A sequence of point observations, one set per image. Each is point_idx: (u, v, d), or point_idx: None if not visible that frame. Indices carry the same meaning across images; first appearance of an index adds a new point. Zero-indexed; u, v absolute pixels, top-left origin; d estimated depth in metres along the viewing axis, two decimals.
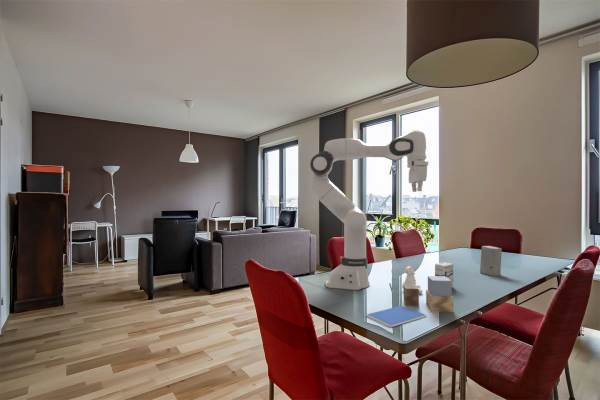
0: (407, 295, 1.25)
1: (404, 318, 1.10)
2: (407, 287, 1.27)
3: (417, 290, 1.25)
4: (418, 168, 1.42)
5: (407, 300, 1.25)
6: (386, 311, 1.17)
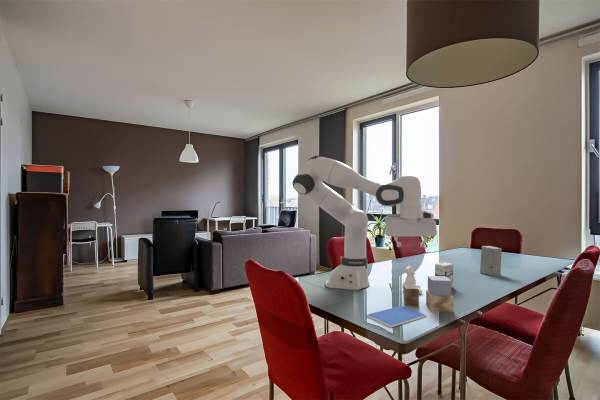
0: (407, 295, 1.25)
1: (404, 318, 1.10)
2: (407, 287, 1.27)
3: (417, 290, 1.25)
4: (435, 222, 1.25)
5: (407, 300, 1.25)
6: (386, 311, 1.17)
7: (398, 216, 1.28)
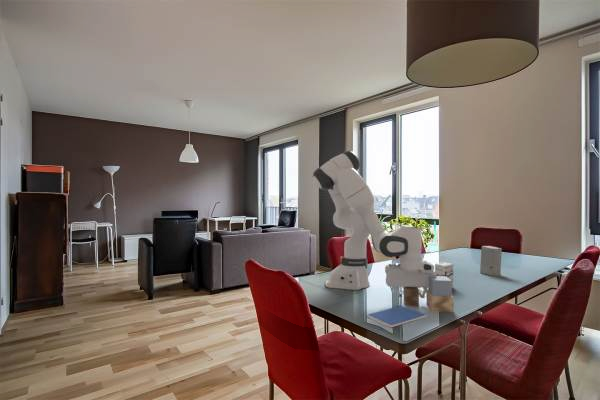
0: (407, 295, 1.25)
1: (404, 318, 1.10)
2: (407, 287, 1.27)
3: (417, 290, 1.25)
4: None
5: (407, 300, 1.25)
6: (386, 311, 1.17)
7: (399, 266, 1.28)
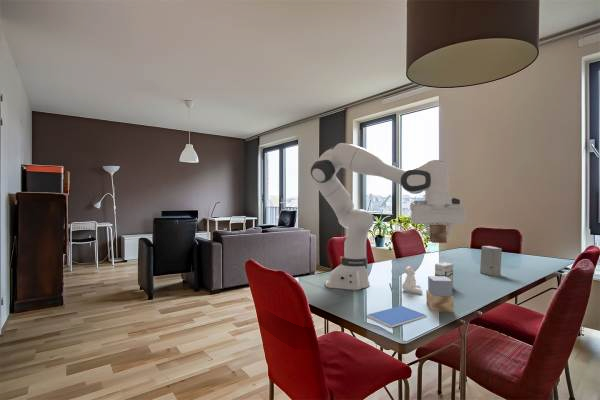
0: (434, 232, 1.20)
1: (404, 319, 1.10)
2: (434, 224, 1.21)
3: (445, 226, 1.19)
4: None
5: (434, 237, 1.20)
6: (386, 311, 1.17)
7: (425, 202, 1.22)
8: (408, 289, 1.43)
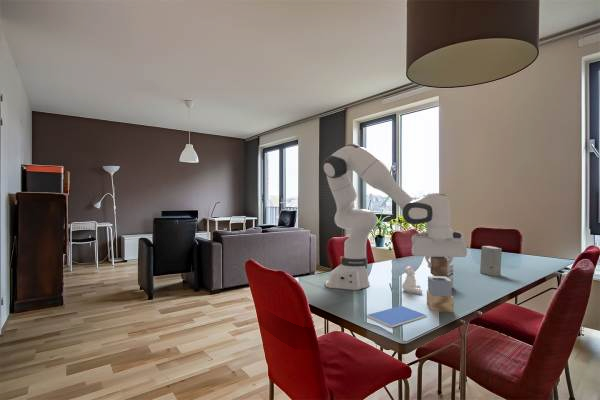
0: (435, 265, 1.20)
1: (404, 319, 1.10)
2: (435, 257, 1.21)
3: (446, 260, 1.19)
4: None
5: (435, 270, 1.20)
6: (386, 311, 1.17)
7: (426, 235, 1.22)
8: (408, 289, 1.43)
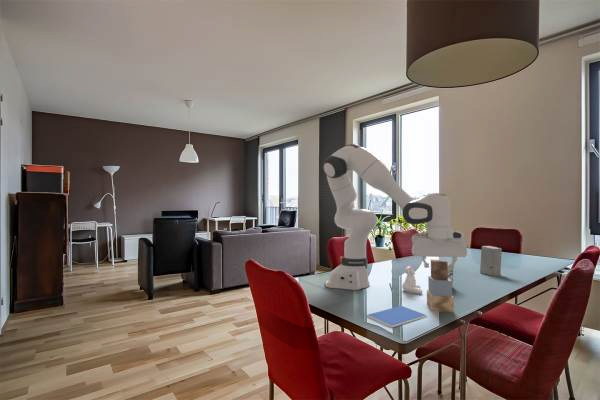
0: (435, 269, 1.20)
1: (405, 319, 1.10)
2: (435, 261, 1.22)
3: (446, 263, 1.19)
4: None
5: (435, 274, 1.20)
6: (386, 311, 1.17)
7: (426, 235, 1.22)
8: (408, 289, 1.43)
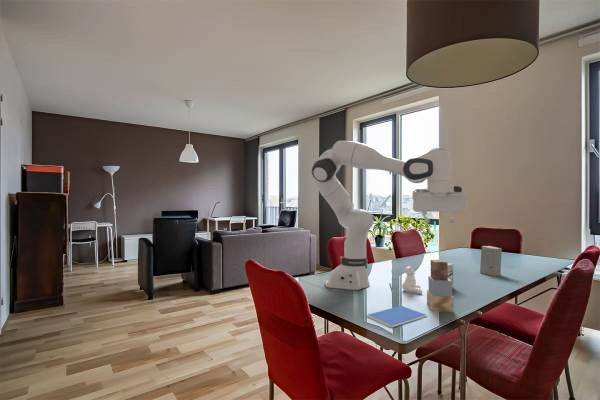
0: (435, 269, 1.20)
1: (405, 318, 1.10)
2: (435, 261, 1.21)
3: (446, 263, 1.19)
4: None
5: (435, 274, 1.20)
6: (386, 311, 1.17)
7: (427, 191, 1.23)
8: (408, 289, 1.43)
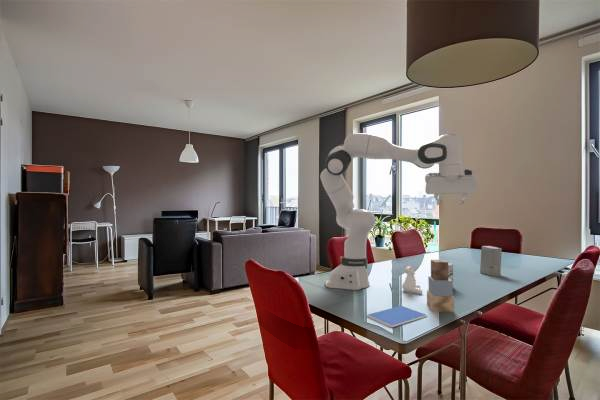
0: (436, 269, 1.20)
1: (405, 318, 1.10)
2: (435, 261, 1.21)
3: (446, 263, 1.19)
4: None
5: (436, 274, 1.20)
6: (386, 311, 1.17)
7: (439, 174, 1.31)
8: (408, 289, 1.43)
